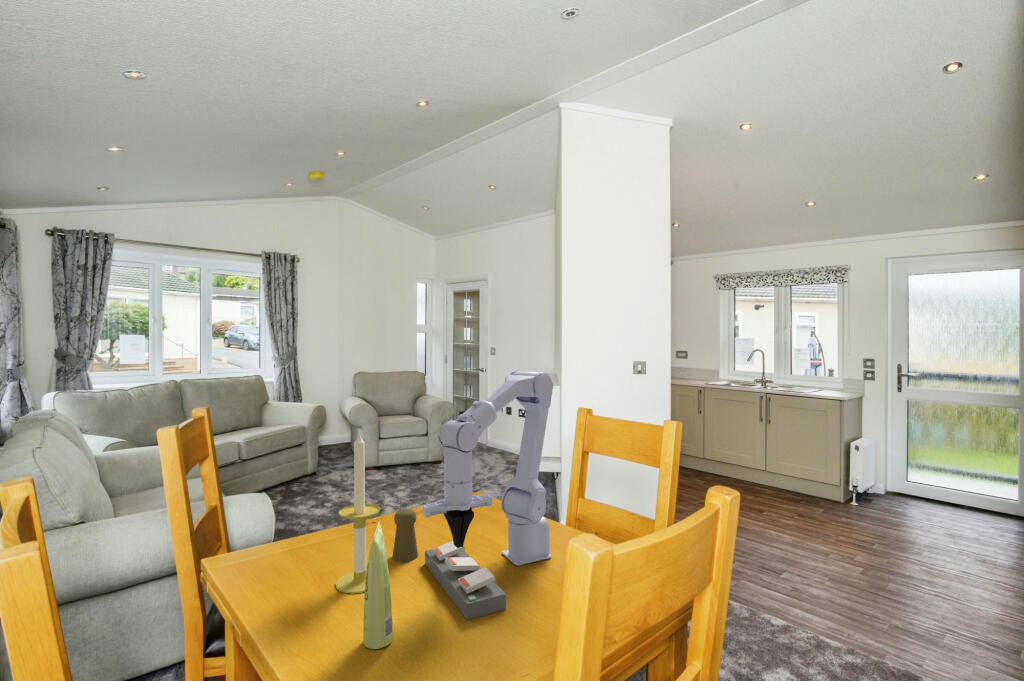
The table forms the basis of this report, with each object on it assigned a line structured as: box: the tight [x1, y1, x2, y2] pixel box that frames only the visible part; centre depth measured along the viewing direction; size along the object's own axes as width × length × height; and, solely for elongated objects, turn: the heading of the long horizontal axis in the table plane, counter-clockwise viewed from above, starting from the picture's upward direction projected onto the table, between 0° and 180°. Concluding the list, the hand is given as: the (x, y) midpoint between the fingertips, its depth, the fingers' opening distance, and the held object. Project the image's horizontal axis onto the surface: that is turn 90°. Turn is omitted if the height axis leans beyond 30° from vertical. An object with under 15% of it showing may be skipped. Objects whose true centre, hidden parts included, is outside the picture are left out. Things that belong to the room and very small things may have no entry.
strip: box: [424, 548, 507, 621], centre depth 107 cm, size 8×26×4 cm, turn 27°
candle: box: [334, 430, 381, 595], centre depth 108 cm, size 10×10×32 cm
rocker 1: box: [432, 540, 466, 561], centre depth 114 cm, size 6×4×1 cm
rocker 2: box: [445, 556, 480, 571], centre depth 107 cm, size 6×4×1 cm
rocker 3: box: [458, 567, 496, 594], centre depth 100 cm, size 6×4×1 cm
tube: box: [362, 521, 394, 650], centre depth 87 cm, size 6×5×20 cm
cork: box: [392, 508, 419, 563], centre depth 121 cm, size 6×6×11 cm
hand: (458, 545), depth 104 cm, fingers closed
